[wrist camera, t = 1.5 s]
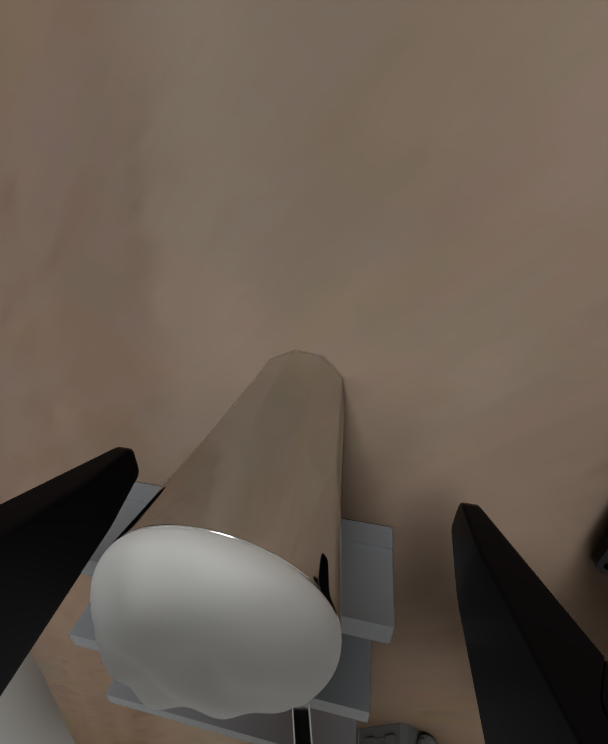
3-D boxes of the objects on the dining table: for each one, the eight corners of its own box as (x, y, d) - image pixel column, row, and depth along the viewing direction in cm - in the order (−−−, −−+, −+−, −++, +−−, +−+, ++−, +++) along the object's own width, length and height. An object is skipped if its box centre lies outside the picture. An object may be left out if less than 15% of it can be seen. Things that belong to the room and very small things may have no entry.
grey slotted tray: (392, 527, 16) (395, 624, 12) (356, 688, 24) (352, 773, 21) (80, 472, 18) (10, 540, 15) (146, 635, 27) (111, 703, 23)
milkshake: (313, 465, 15) (220, 858, 6) (221, 379, 14) (-53, 720, 5) (402, 413, 13) (446, 894, 4) (303, 306, 12) (75, 677, 3)
